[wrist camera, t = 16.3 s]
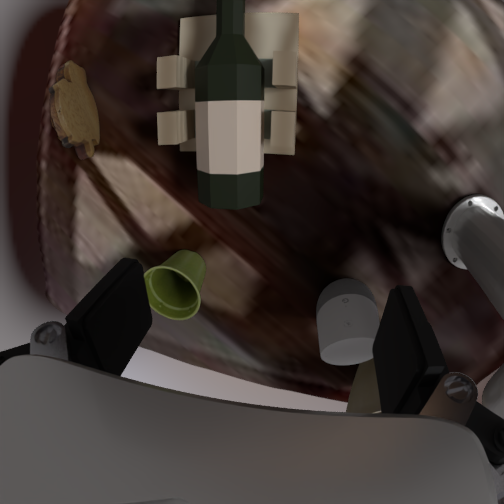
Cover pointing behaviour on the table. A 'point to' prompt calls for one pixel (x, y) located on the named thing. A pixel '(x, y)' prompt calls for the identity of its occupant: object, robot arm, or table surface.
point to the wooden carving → (74, 110)
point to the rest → (275, 86)
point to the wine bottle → (230, 115)
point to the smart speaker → (346, 322)
